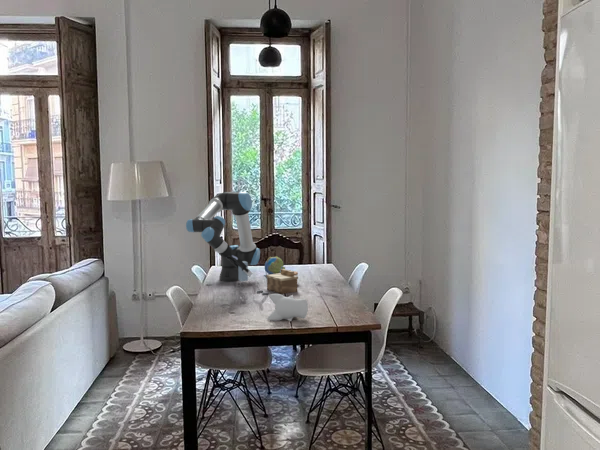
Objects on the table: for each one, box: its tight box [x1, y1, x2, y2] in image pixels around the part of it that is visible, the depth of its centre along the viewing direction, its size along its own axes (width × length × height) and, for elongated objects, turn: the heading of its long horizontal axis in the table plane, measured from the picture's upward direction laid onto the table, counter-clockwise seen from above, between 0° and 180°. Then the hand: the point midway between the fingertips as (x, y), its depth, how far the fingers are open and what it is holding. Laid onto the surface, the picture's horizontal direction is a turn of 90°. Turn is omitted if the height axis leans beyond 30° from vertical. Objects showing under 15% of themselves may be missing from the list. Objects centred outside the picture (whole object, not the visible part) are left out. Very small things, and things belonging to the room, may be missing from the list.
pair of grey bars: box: [256, 289, 270, 296], centre depth 324 cm, size 8×4×1 cm, turn 35°
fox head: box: [266, 293, 309, 322], centre depth 268 cm, size 13×17×20 cm
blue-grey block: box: [238, 261, 249, 282], centre depth 315 cm, size 4×4×11 cm
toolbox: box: [266, 277, 298, 295], centre depth 332 cm, size 16×12×8 cm
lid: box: [265, 268, 299, 281], centre depth 332 cm, size 17×13×4 cm
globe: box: [264, 255, 286, 275], centre depth 385 cm, size 14×16×15 cm
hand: (248, 274), depth 318 cm, fingers closed on blue-grey block, 4 cm apart
